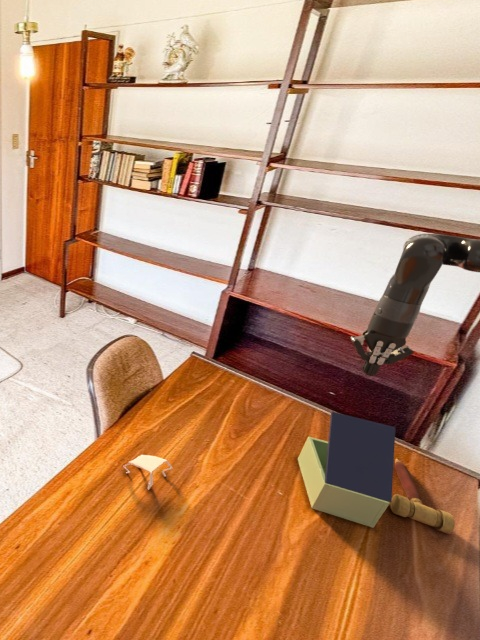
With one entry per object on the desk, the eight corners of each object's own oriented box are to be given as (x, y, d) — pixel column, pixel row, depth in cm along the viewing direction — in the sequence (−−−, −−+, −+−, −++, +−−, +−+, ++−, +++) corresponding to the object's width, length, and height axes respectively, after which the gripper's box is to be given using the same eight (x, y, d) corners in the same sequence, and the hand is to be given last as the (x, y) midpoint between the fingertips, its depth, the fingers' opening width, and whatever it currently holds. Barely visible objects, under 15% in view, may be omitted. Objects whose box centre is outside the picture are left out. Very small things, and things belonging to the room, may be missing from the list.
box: (297, 459, 110) (308, 436, 106) (350, 474, 106) (364, 451, 102) (311, 508, 97) (324, 484, 93) (373, 528, 93) (389, 503, 89)
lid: (330, 411, 97) (332, 411, 96) (393, 427, 93) (395, 427, 92) (324, 482, 93) (326, 483, 92) (389, 501, 89) (391, 502, 88)
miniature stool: (139, 496, 98) (142, 483, 96) (120, 469, 105) (123, 456, 103) (178, 482, 102) (182, 469, 100) (157, 457, 109) (160, 444, 107)
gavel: (377, 446, 111) (423, 461, 107) (371, 458, 113) (416, 473, 108) (401, 504, 93) (458, 524, 89) (393, 517, 95) (448, 538, 91)
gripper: (419, 313, 97) (391, 372, 104) (356, 303, 101) (332, 360, 108) (437, 327, 91) (406, 388, 97) (368, 315, 95) (343, 375, 101)
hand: (367, 373), depth 102 cm, fingers closed
